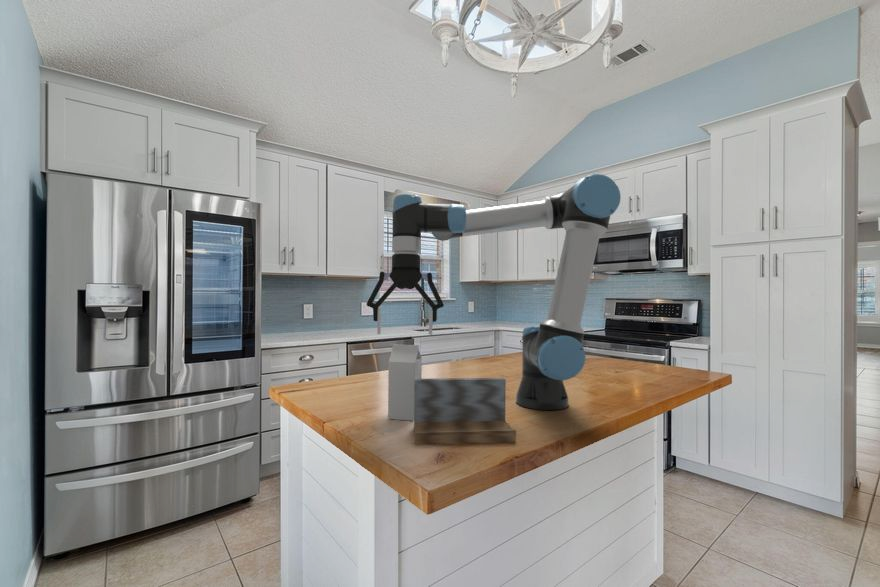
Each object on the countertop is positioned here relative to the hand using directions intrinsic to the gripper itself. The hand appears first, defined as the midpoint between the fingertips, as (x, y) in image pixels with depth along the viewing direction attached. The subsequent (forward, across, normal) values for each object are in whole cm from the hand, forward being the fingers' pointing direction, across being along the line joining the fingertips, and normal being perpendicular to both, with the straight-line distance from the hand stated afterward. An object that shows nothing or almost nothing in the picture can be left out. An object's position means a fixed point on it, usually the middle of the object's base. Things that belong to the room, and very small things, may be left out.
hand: (404, 334), depth 109 cm
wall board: (+22, -13, +16) cm, 30 cm away
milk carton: (+22, 0, 0) cm, 22 cm away
